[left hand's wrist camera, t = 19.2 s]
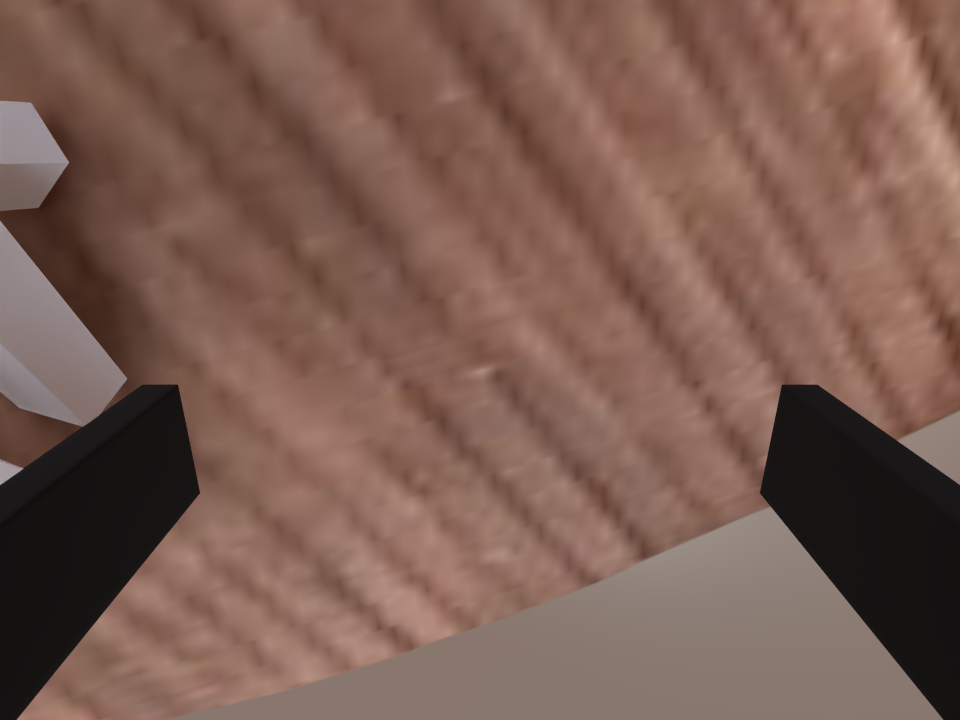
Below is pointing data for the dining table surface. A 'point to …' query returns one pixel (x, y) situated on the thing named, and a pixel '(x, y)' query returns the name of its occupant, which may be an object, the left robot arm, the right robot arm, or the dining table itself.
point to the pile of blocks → (41, 296)
